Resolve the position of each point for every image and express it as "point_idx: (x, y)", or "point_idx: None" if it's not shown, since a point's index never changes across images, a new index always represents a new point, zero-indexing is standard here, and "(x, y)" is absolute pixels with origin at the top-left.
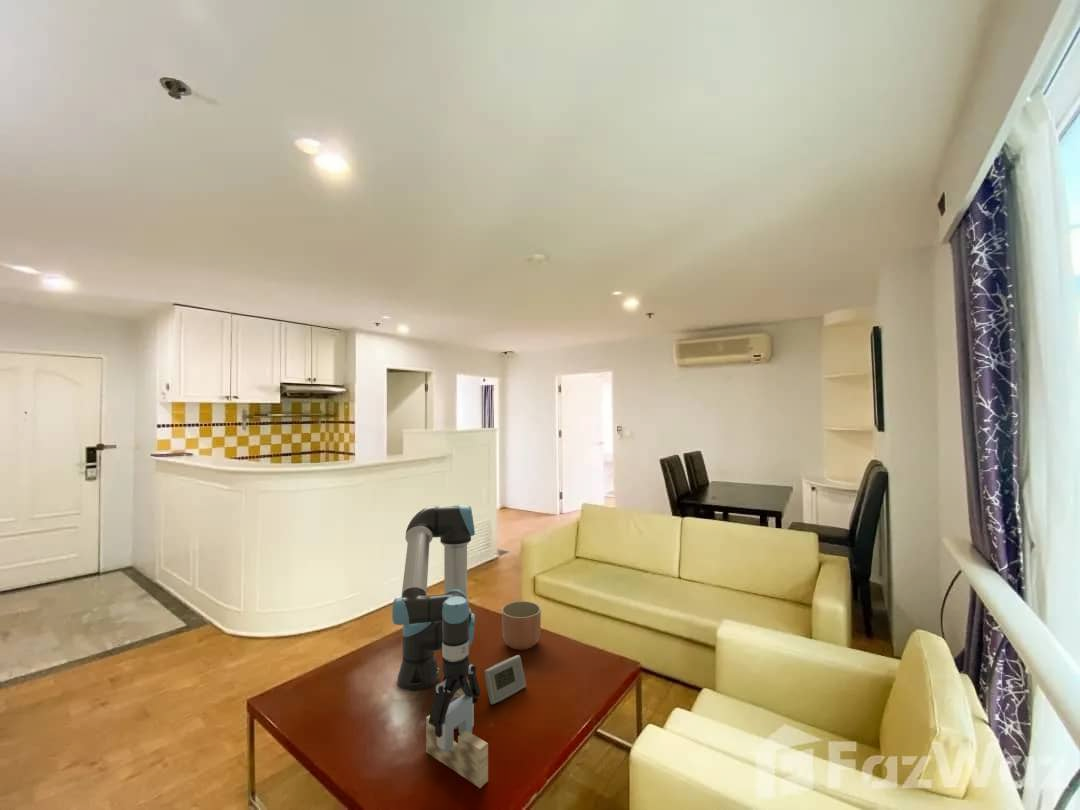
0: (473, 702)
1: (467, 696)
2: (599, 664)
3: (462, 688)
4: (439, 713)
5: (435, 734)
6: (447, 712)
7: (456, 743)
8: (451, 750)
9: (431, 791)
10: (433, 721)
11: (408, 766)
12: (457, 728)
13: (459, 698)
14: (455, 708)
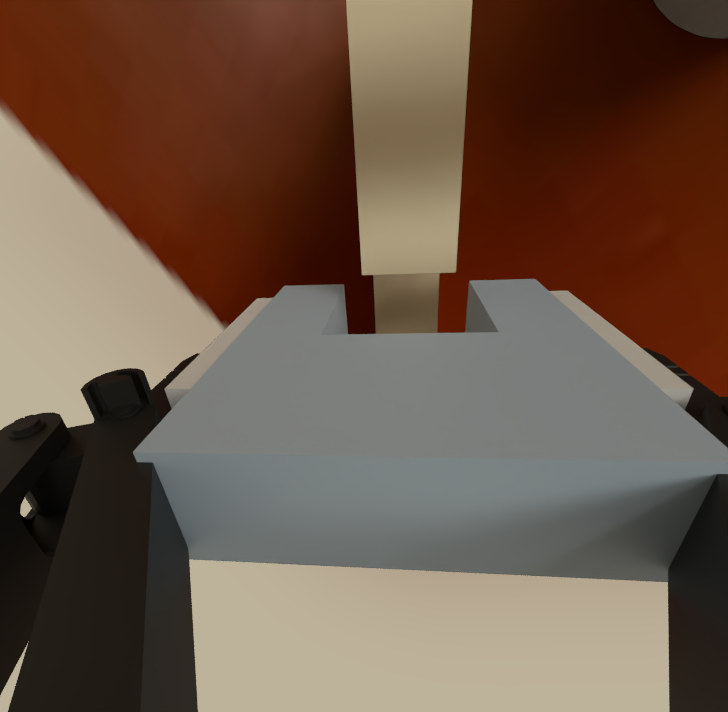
0: None
1: (664, 535)
2: None
3: (724, 685)
4: (32, 612)
5: (184, 364)
6: (218, 544)
7: (434, 274)
8: (375, 294)
9: (249, 294)
10: (28, 500)
11: (235, 54)
12: (660, 7)
13: (556, 482)
14: (340, 564)
